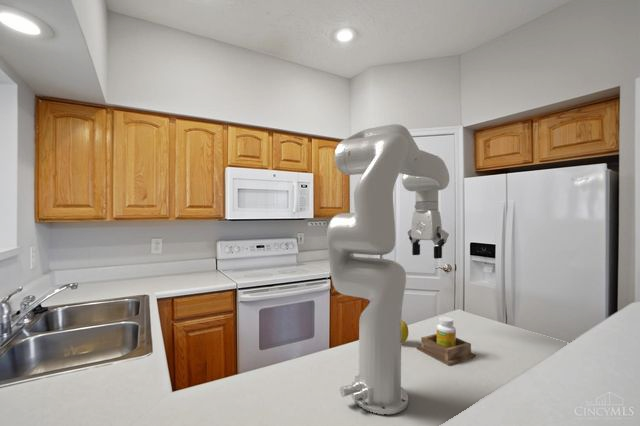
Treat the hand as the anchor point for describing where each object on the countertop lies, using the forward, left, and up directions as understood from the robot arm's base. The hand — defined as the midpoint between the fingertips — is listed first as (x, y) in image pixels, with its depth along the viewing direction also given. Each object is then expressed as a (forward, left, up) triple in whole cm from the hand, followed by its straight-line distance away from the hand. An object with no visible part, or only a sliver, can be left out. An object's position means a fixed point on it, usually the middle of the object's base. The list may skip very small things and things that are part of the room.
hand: (426, 256), depth 102 cm
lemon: (-11, +1, -28) cm, 31 cm away
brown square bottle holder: (-3, -11, -28) cm, 30 cm away
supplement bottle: (-3, -11, -28) cm, 30 cm away
